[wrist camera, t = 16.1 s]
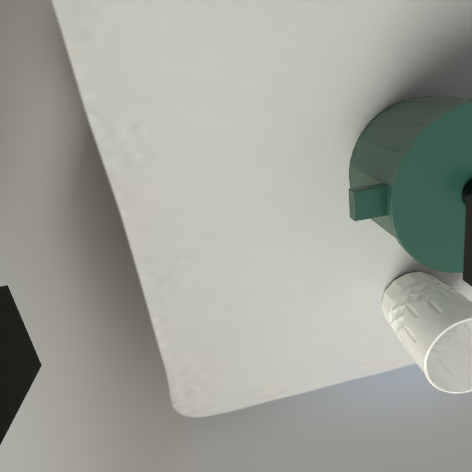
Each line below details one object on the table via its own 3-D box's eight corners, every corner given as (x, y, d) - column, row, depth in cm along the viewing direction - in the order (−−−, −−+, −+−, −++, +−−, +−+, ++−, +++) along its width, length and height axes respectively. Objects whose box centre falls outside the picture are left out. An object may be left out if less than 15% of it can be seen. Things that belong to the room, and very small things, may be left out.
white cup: (412, 341, 47) (468, 406, 37) (360, 310, 44) (406, 371, 35) (460, 287, 45) (531, 342, 35) (408, 252, 43) (469, 301, 33)
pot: (316, 113, 37) (354, 124, 28) (508, 83, 37) (599, 83, 29) (325, 241, 41) (359, 283, 33) (496, 211, 42) (572, 244, 34)
